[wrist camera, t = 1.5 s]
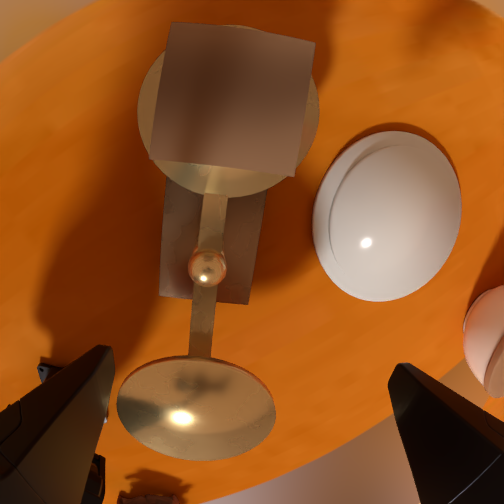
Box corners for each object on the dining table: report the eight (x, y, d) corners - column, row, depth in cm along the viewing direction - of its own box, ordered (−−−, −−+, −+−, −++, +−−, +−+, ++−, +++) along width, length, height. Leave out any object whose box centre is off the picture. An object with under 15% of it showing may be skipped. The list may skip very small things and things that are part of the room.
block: (271, 164, 16) (294, 177, 11) (170, 151, 15) (148, 159, 10) (287, 69, 14) (315, 42, 9) (185, 55, 13) (171, 22, 8)
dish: (430, 301, 25) (438, 308, 24) (294, 292, 23) (298, 301, 22) (470, 157, 21) (480, 159, 20) (330, 110, 19) (337, 109, 18)
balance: (249, 382, 26) (260, 462, 18) (144, 372, 25) (126, 451, 17) (307, 61, 18) (361, 21, 10) (167, 42, 16) (136, -12, 8)
